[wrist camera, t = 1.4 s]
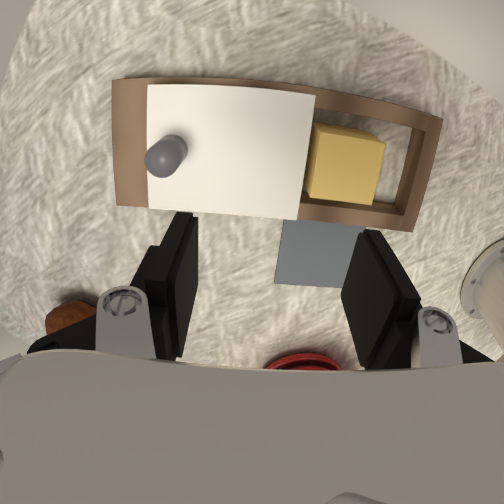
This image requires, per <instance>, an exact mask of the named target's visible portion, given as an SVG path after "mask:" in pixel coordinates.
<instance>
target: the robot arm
mask: <svg viewBox="0 0 504 504" xmlns="http://www.w3.org/2000/svg"><path fill="white" fill-rule="evenodd" d="M197 287H198V217H193V213H189V212H176V214H175V216H174V218H173V220H172V222H171V224H170V226H169V228H168V230H167V232H166V234H165V236H164V238H163V240H162V242H161V244H160V246H153V245H151V246H150V247H149V248H148V250H147V252H146V254H145V256H144V258H143V260H142V262H141V264H140V266H139V268H138V270H137V272H136V274H135V276H134V278H133V280H132V282H131V284H130V286H118V287H114V288H112V289H109V290H107V291H106V292H105V293H103V294H102V295H101V297H100V298H99V299H98V303H97V314H95V315H92V316H90V317H88V318H85V319H83V320H81V321H79V322H76V323H74V324H72V325H69V326H67V327H65V328H62V329H60V330H58V331H56V332H53V333H51V334H49V335H46V336H44V337H42V338H40V339H38V340H37V341H35V342H34V343H33V344H32V345H31V346H30V348H29V350H28V351H27V355H24V356H21V355H20V353H19V354H17V355H14V356H12V357H9V358H7V359H4V360H2V361H0V504H504V362H495V361H493V360H491V359H490V358H488V357H487V356H485V355H483V354H482V353H480V352H479V351H477V350H475V349H474V348H472V347H470V346H469V345H467V344H466V343H464V342H462V341H461V340H459V337H458V331H457V326H456V323H455V321H454V320H453V318H452V317H451V316H450V315H449V314H448V313H446V312H445V311H443V310H441V309H439V308H436V307H431V306H429V307H424V308H423V307H422V305H421V303H420V300H421V297H420V296H419V294H418V292H417V290H416V289H415V287H414V285H413V284H412V282H411V280H410V278H409V277H408V275H407V273H406V272H405V270H404V268H403V267H402V265H401V263H400V262H399V260H398V258H397V257H396V255H395V254H394V252H393V250H392V249H391V247H390V246H389V244H388V243H387V241H386V239H385V238H384V236H383V235H382V233H381V232H380V231H378V230H370V229H365V230H364V231H363V233H362V232H360V233H359V234H358V236H357V240H356V243H355V247H354V250H353V254H352V257H351V261H350V264H349V268H348V271H347V274H346V278H345V281H344V284H343V287H342V291H341V300H342V304H343V307H344V310H345V314H346V317H347V320H348V324H349V327H350V331H351V334H352V338H353V341H354V345H355V348H356V352H357V356H358V359H359V363H360V365H361V366H362V367H364V368H365V370H347V371H316V370H278V369H258V368H241V367H228V366H216V365H205V364H195V363H186V362H177V361H175V360H176V357H180V358H181V357H182V354H183V350H184V345H185V341H186V336H187V331H188V327H189V322H190V318H191V314H192V309H193V305H194V301H195V296H196V292H197ZM461 304H462V307H463V308H464V310H465V312H466V313H467V314H468V315H469V316H470V317H472V318H476V319H484V320H485V322H486V323H487V325H488V327H489V328H490V330H491V331H492V333H493V335H494V336H495V338H496V340H497V341H498V343H499V345H500V346H501V348H502V350H503V351H504V240H501V241H499V242H497V243H495V244H493V245H492V246H491V247H489V248H488V249H487V250H486V251H485V252H484V253H483V254H482V255H481V256H480V257H479V258H478V259H477V260H476V262H475V263H474V264H473V266H472V267H471V269H470V270H469V272H468V274H467V276H466V278H465V280H464V283H463V286H462V290H461Z"/></svg>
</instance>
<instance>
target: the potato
mask: <svg viewBox="0 0 504 504" xmlns="http://www.w3.org/2000/svg"><path fill="white" fill-rule="evenodd" d="M95 314H97V309H96V308H94V307H92V306H90V305H88V304H86V303H84V302H82V301H77V300H76V301H69V302H66V303H63V304H61V305H60V306H58V307H56V308H54V309H53V310H52V311H51V312H50V313H49V314H48V315H47V316H46V319H45V326H46V333H47V335H49V334H51V333H53V332H56V331H58V330H60V329H62V328H65V327H67V326H69V325H72V324H74V323H76V322H79V321H81V320H83V319H85V318H88V317H90V316H92V315H95Z"/></svg>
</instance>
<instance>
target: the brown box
mask: <svg viewBox="0 0 504 504" xmlns="http://www.w3.org/2000/svg"><path fill="white" fill-rule="evenodd" d="M150 84H209V85H229V86H244V87H256V88H266V89H276V90H284V91H292V92H299V93H306V94H313V95H316V97H315V104H314V107H316V108H322V109H328V110H334V111H340V112H345V113H350V114H355V115H360V116H365V117H370V118H375V119H379V120H384V121H388V122H392V123H396V124H400V125H404V126H408V127H412V128H413V129H412V133H411V138H410V143H409V147H408V152H407V156H406V160H405V164H404V169H403V173H402V177H401V181H400V184H399V188H398V192H397V196H396V199H395V203H394V205H392V204H386V203H379V202H372V205H366V204H358V203H351V202H343V201H335V200H327V199H319V198H310V197H309V194H308V193H302V192H301V197H300V203H299V209H298V215H297V219H301V220H311V221H320V222H330V223H339V224H348V225H356V226H365V227H373V228H382V229H390V230H398V231H405V232H413V229H414V226H415V223H416V220H417V217H418V214H419V211H420V208H421V204H422V201H423V198H424V194H425V191H426V187H427V184H428V180H429V177H430V173H431V169H432V165H433V161H434V157H435V153H436V149H437V145H438V141H439V136H440V132H441V127H442V122H443V119H442V118H439V117H436V116H434V115H431V114H428V113H425V112H421V111H418V110H415V109H411V108H407V107H404V106H400V105H396V104H393V103H389V102H385V101H380V100H376V99H372V98H368V97H363V96H358V95H354V94H349V93H344V92H339V91H333V90H327V89H322V88H316V87H309V86H302V85H295V84H288V83H279V82H270V81H261V80H249V79H236V78H218V77H141V78H124V79H116V80H112V146H113V166H114V181H115V193H116V204H117V206H135V207H149V203H148V179H147V169H146V166H145V163H144V158H145V154H146V152H147V88H148V85H150Z"/></svg>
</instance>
